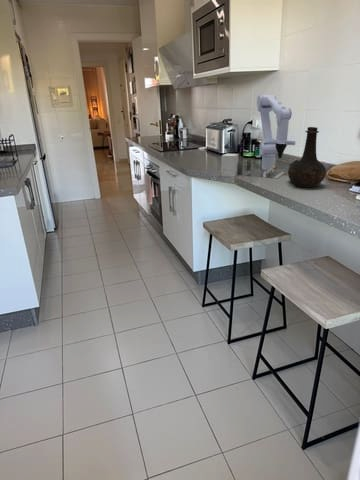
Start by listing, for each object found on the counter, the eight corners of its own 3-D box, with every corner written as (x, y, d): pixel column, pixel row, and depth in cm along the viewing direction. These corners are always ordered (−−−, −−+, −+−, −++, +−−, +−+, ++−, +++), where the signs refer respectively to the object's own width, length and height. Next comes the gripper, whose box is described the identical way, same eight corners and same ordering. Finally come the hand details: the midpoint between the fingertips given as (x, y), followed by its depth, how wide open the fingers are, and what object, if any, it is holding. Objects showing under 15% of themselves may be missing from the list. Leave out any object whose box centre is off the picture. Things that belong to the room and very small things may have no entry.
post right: (247, 171, 206) (247, 158, 203) (250, 171, 205) (251, 158, 202) (245, 172, 204) (246, 158, 201) (249, 172, 203) (250, 159, 200)
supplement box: (238, 176, 194) (239, 153, 190) (233, 178, 189) (234, 155, 184) (226, 175, 198) (226, 153, 193) (221, 177, 192) (221, 155, 187)
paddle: (267, 171, 193) (273, 165, 190) (268, 173, 193) (275, 166, 190) (265, 172, 190) (271, 166, 187) (267, 174, 190) (273, 167, 187)
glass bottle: (294, 179, 183) (300, 125, 172) (329, 184, 172) (337, 126, 161) (280, 186, 170) (286, 127, 159) (316, 191, 159) (325, 129, 149)
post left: (238, 176, 195) (239, 162, 192) (242, 176, 194) (243, 162, 191) (237, 176, 193) (237, 162, 190) (241, 177, 192) (241, 163, 189)
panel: (255, 172, 203) (255, 165, 202) (285, 174, 195) (286, 167, 193) (245, 178, 190) (245, 170, 188) (277, 180, 181) (278, 173, 180)
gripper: (266, 132, 184) (265, 158, 189) (294, 133, 177) (291, 159, 183) (270, 131, 190) (268, 156, 195) (297, 132, 183) (294, 157, 188)
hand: (280, 158), depth 189 cm, fingers closed
